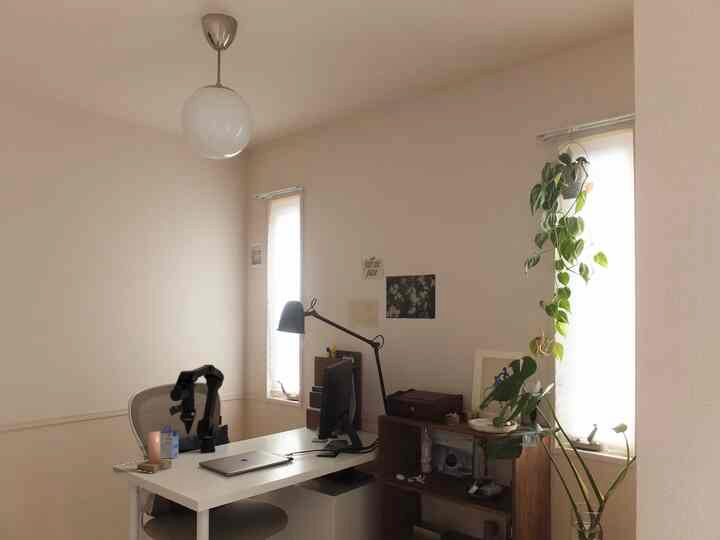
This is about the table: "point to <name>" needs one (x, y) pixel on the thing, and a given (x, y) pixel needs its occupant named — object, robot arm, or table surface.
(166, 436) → the ink cartridge box
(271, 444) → the table surface
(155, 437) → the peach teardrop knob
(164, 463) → the walnut plinth
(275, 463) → the table surface
